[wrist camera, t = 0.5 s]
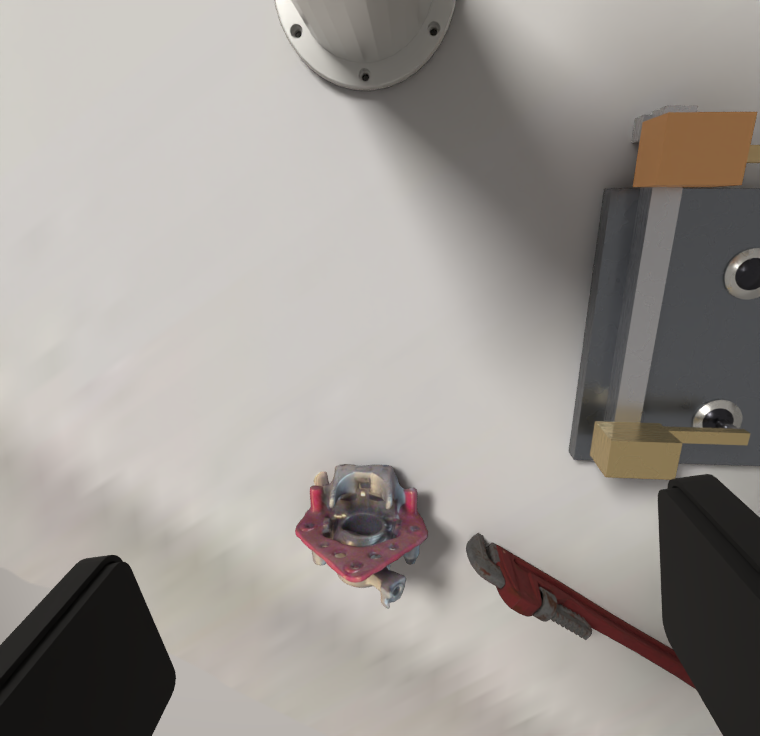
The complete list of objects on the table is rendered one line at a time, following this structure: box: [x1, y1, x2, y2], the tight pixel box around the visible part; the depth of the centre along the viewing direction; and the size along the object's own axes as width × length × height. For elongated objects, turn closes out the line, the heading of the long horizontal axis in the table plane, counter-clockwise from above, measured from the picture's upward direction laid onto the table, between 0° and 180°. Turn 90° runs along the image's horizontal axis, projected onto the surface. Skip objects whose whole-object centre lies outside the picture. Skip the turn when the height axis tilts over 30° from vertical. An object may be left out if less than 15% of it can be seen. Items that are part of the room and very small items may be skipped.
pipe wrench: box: [466, 533, 696, 689], centre depth 47 cm, size 7×2×30 cm
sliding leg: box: [633, 112, 760, 187], centre depth 32 cm, size 4×11×5 cm, turn 90°
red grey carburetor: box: [295, 464, 428, 609], centre depth 44 cm, size 11×11×12 cm
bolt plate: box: [569, 106, 760, 480], centre depth 36 cm, size 27×16×7 cm, turn 0°
